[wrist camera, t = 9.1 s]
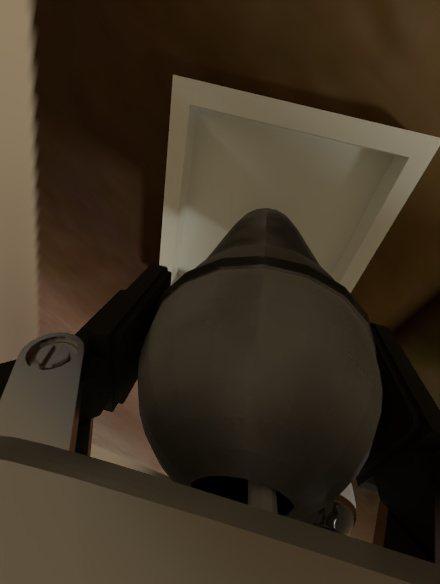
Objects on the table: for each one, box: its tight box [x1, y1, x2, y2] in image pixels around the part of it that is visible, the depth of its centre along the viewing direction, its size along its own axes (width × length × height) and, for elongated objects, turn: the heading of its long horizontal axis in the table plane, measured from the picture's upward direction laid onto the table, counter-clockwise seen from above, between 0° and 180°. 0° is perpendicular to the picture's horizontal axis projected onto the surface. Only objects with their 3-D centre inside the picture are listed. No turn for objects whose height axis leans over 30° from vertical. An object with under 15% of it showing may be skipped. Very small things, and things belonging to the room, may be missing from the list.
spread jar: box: [297, 483, 356, 536], centre depth 34 cm, size 12×11×12 cm
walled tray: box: [159, 75, 440, 293], centre depth 20 cm, size 16×16×3 cm
